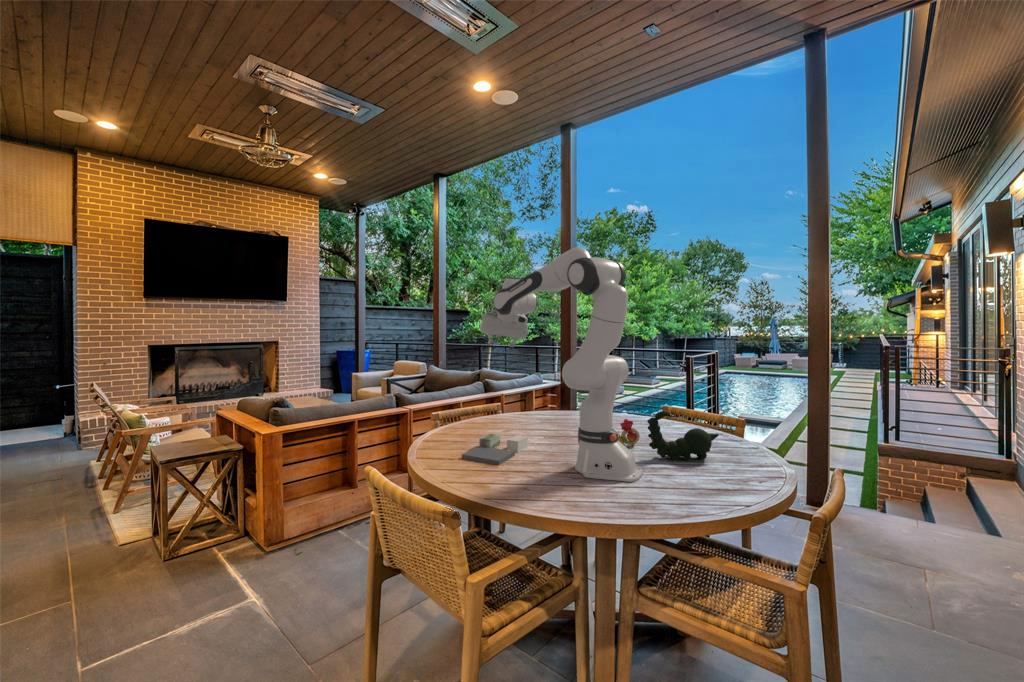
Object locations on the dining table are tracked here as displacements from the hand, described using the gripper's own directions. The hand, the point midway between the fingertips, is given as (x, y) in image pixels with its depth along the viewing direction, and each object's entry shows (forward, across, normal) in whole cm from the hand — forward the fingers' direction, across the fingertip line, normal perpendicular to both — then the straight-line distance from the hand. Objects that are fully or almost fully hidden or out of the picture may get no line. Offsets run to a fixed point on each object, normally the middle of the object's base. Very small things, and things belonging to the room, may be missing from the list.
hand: (500, 345), depth 191 cm
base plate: (+33, -4, -35) cm, 48 cm away
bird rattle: (+24, +52, -34) cm, 67 cm away
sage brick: (+36, -2, -24) cm, 43 cm away
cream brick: (+33, +8, -28) cm, 44 cm away
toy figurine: (+17, +63, -53) cm, 84 cm away
